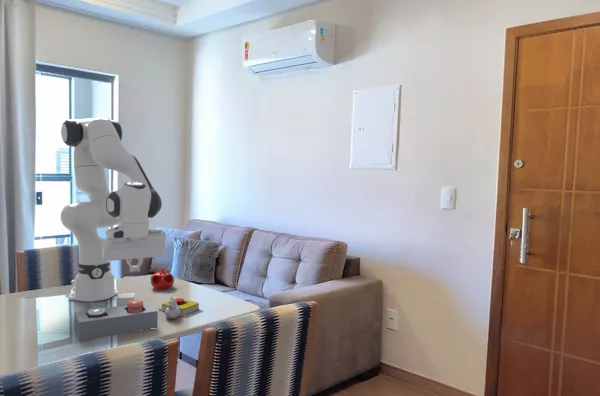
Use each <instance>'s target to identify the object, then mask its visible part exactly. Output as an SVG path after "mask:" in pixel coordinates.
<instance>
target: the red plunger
mask: <svg viewBox="0 0 600 396" xmlns="http://www.w3.org/2000/svg"><path fill="white" fill-rule="evenodd" d="M143 303H144V300H141V299H135V300H132V301H128V302H127V308H128V313H130V312H137V311H142V307H143Z"/></svg>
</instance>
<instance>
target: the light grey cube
mask: <svg viewBox="0 0 600 396" xmlns="http://www.w3.org/2000/svg"><path fill="white" fill-rule="evenodd" d="M132 300H136V293H135V292H128V293H119V294H117V295H116V307H117V306H125V305H127V302H128V301H132Z"/></svg>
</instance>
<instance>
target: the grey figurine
mask: <svg viewBox="0 0 600 396" xmlns="http://www.w3.org/2000/svg"><path fill="white" fill-rule="evenodd" d="M173 299H174V300H173ZM175 299H176V298H173V297H171V298H170V299H169V300H168V301H169V302H168V308H166V310H165V312H164V314H165V317H166V318H167V319H176V318H178V317H179V316H180V309H179V305H177V301H176V300H175Z"/></svg>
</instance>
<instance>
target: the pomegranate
mask: <svg viewBox="0 0 600 396" xmlns="http://www.w3.org/2000/svg"><path fill="white" fill-rule="evenodd" d="M165 268H166V267H162V270H161V269H157V270H156V271H155V272H154V273H153V274H152V275H151V276H150V284H151V286H152V288H154V289H155V290H157V291H158V290H159V291H162V290H169V289H171V288H172V287H173V286H174V283H175V277H174V275H173V274H172V273H169V272H171V270H166V269H165Z"/></svg>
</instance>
